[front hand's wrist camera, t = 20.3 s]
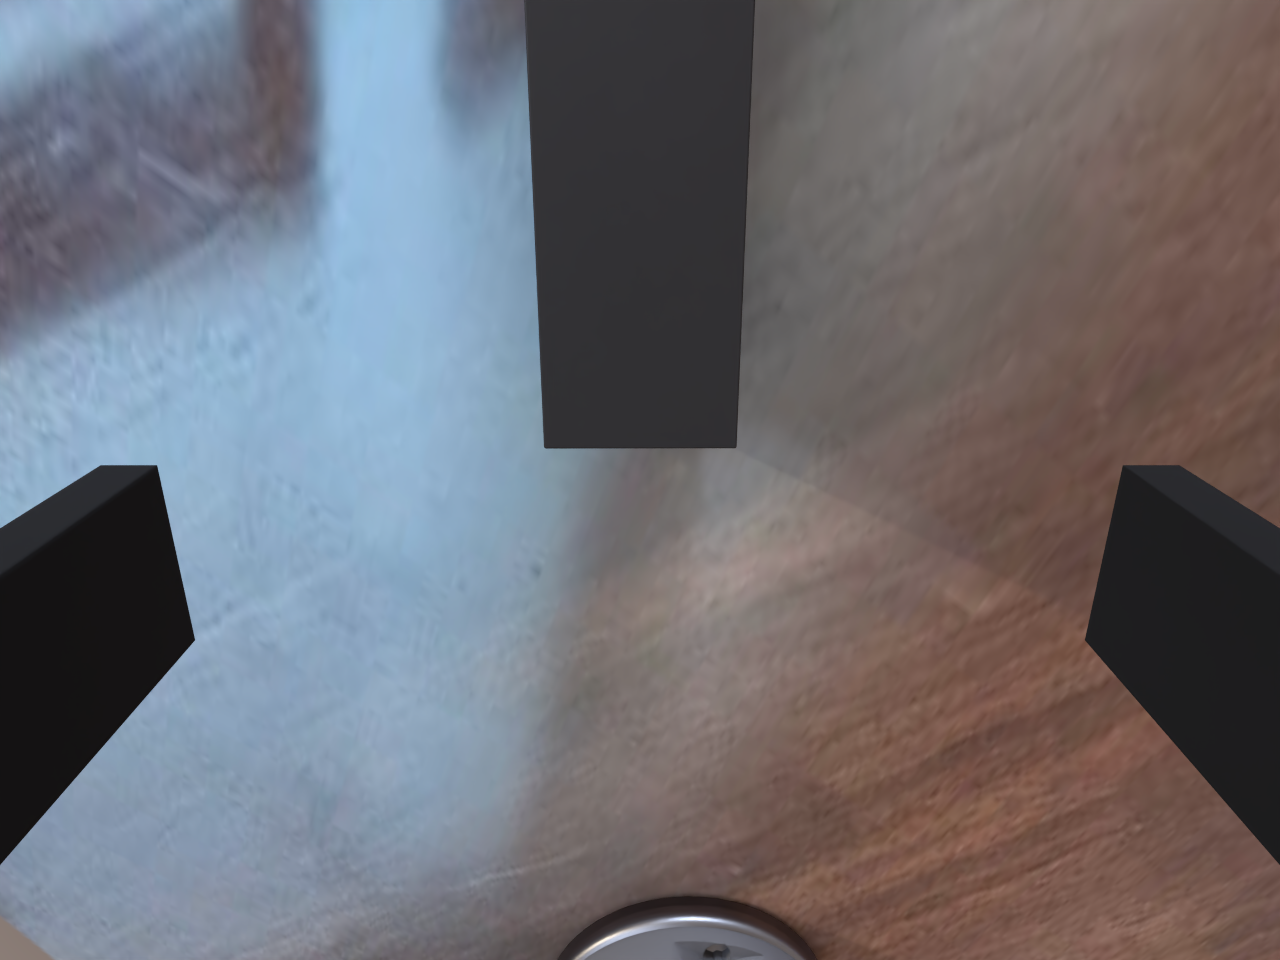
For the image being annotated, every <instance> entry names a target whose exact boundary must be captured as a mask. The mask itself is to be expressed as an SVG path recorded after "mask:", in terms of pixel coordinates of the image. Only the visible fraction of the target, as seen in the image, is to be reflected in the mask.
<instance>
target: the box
mask: <svg viewBox="0 0 1280 960" xmlns="http://www.w3.org/2000/svg"><path fill="white" fill-rule="evenodd" d="M524 4H525V26H526V49H527V71H528V94H529V117H530V139H531V162H532V184H533V207H534V229H535V252H536V275H537V297H538V320H539V342H540V365H541V387H542V410H543V432H544V447H545V448H736V444H737V420H738V396H739V372H740V348H741V324H742V300H743V276H744V252H745V228H746V204H747V180H748V156H749V132H750V108H751V84H752V60H753V36H754V12H755V0H524Z"/></svg>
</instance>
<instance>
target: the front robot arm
mask: <svg viewBox="0 0 1280 960" xmlns="http://www.w3.org/2000/svg"><path fill="white" fill-rule="evenodd" d="M194 641H195V638H194V633H193V628H192V624H191V619H190V615H189V610H188V605H187V601H186V596H185V592H184V587H183V582H182V578H181V573H180V569H179V564H178V559H177V555H176V550H175V546H174V541H173V536H172V532H171V527H170V523H169V518H168V513H167V509H166V504H165V500H164V495H163V490H162V486H161V481H160V477H159V472H158V467H157V465H101V466H99V467H97V468H96V469H94V470H93V471H91V472H89V473H88V474H86V475H85V476H83V477H81V478H80V479H78V480H77V481H75V482H73V483H72V484H70V485H69V486H67V487H65V488H64V489H62V490H61V491H59V492H58V493H56V494H54V495H53V496H51V497H50V498H48V499H46V500H45V501H43V502H42V503H40V504H38V505H37V506H35V507H34V508H32V509H30V510H29V511H27V512H26V513H24V514H22V515H21V516H19V517H18V518H16V519H14V520H13V521H11V522H10V523H8V524H7V525H5V526H3V527H2V528H0V864H1V863H2V862H3V861H4V860H5V859H6V858H7V856H8V855H9V854H10V853H11V852H12V851H13V849H14V848H15V847H16V846H17V845H18V844H19V843H20V841H21V840H22V839H23V838H24V837H25V836H26V834H27V833H28V832H29V831H30V830H31V829H32V828H33V826H34V825H35V824H36V823H37V822H38V821H39V819H40V818H41V817H42V816H43V815H44V814H45V813H46V811H47V810H48V809H49V808H50V807H51V806H52V804H53V803H54V802H55V801H56V800H57V799H58V798H59V796H60V795H61V794H62V793H63V792H64V791H65V789H66V788H67V787H68V786H69V785H70V784H71V783H72V781H73V780H74V779H75V778H76V777H77V776H78V775H79V773H80V772H81V771H82V770H83V769H84V768H85V766H86V765H87V764H88V763H89V762H90V761H91V760H92V758H93V757H94V756H95V755H96V754H97V753H98V751H99V750H100V749H101V748H102V747H103V746H104V745H105V743H106V742H107V741H108V740H109V739H110V738H111V736H112V735H113V734H114V733H115V732H116V731H117V730H118V728H119V727H120V726H121V725H122V724H123V723H124V721H125V720H126V719H127V718H128V717H129V716H130V715H131V713H132V712H133V711H134V710H135V709H136V708H137V706H138V705H139V704H140V703H141V702H142V701H143V700H144V698H145V697H146V696H147V695H148V694H149V693H150V691H151V690H152V689H153V688H154V687H155V686H156V685H157V683H158V682H159V681H160V680H161V679H162V678H163V677H164V675H165V674H166V673H167V672H168V671H169V670H170V668H171V667H172V666H173V665H174V664H175V663H176V662H177V660H178V659H179V658H180V657H181V656H182V655H183V653H184V652H185V651H186V650H187V649H188V648H189V647H190V645H191V644H192V643H193V642H194ZM1085 641H1086V642H1087V643H1088V644H1089V645H1090V647H1091V648H1092V649H1093V650H1094V651H1095V652H1096V653H1097V655H1098V656H1099V657H1100V658H1101V659H1102V660H1103V662H1104V663H1105V664H1106V665H1107V666H1108V667H1109V668H1110V670H1111V671H1112V672H1113V673H1114V674H1115V675H1116V677H1117V678H1118V679H1119V680H1120V681H1121V682H1122V683H1123V685H1124V686H1125V687H1126V688H1127V689H1128V690H1129V691H1130V693H1131V694H1132V695H1133V696H1134V697H1135V698H1136V700H1137V701H1138V702H1139V703H1140V704H1141V705H1142V706H1143V708H1144V709H1145V710H1146V711H1147V712H1148V713H1149V715H1150V716H1151V717H1152V718H1153V719H1154V720H1155V721H1156V723H1157V724H1158V725H1159V726H1160V727H1161V728H1162V730H1163V731H1164V732H1165V733H1166V734H1167V735H1168V736H1169V738H1170V739H1171V740H1172V741H1173V742H1174V743H1175V745H1176V746H1177V747H1178V748H1179V749H1180V750H1181V751H1182V753H1183V754H1184V755H1185V756H1186V757H1187V758H1188V760H1189V761H1190V762H1191V763H1192V764H1193V765H1194V766H1195V768H1196V769H1197V770H1198V771H1199V772H1200V773H1201V775H1202V776H1203V777H1204V778H1205V779H1206V780H1207V781H1208V783H1209V784H1210V785H1211V786H1212V787H1213V788H1214V789H1215V791H1216V792H1217V793H1218V794H1219V795H1220V796H1221V798H1222V799H1223V800H1224V801H1225V802H1226V803H1227V804H1228V806H1229V807H1230V808H1231V809H1232V810H1233V811H1234V813H1235V814H1236V815H1237V816H1238V817H1239V818H1240V819H1241V821H1242V822H1243V823H1244V824H1245V825H1246V826H1247V828H1248V829H1249V830H1250V831H1251V832H1252V833H1253V834H1254V836H1255V837H1256V838H1257V839H1258V840H1259V841H1260V843H1261V844H1262V845H1263V846H1264V847H1265V848H1266V849H1267V851H1268V852H1269V853H1270V854H1271V855H1272V856H1273V858H1274V859H1275V860H1276V861H1277V862H1278V863H1279V864H1280V528H1278V527H1277V526H1275V525H1273V524H1272V523H1270V522H1269V521H1267V520H1266V519H1264V518H1262V517H1261V516H1259V515H1258V514H1256V513H1254V512H1253V511H1251V510H1250V509H1248V508H1246V507H1245V506H1243V505H1242V504H1240V503H1238V502H1237V501H1235V500H1234V499H1232V498H1230V497H1229V496H1227V495H1226V494H1224V493H1222V492H1221V491H1219V490H1218V489H1216V488H1215V487H1213V486H1211V485H1210V484H1208V483H1207V482H1205V481H1203V480H1202V479H1200V478H1199V477H1197V476H1195V475H1194V474H1192V473H1191V472H1189V471H1187V470H1186V469H1184V468H1183V467H1181V466H1179V465H1123V467H1122V472H1121V477H1120V481H1119V486H1118V490H1117V495H1116V500H1115V504H1114V509H1113V513H1112V518H1111V523H1110V527H1109V532H1108V536H1107V541H1106V546H1105V550H1104V555H1103V559H1102V564H1101V569H1100V573H1099V578H1098V582H1097V587H1096V592H1095V596H1094V601H1093V605H1092V610H1091V615H1090V619H1089V624H1088V628H1087V633H1086V638H1085ZM558 960H817V959H816V957H815V955H814V953H813V952H812V951H811V949H810V948H809V946H808V945H807V944H806V943H805V942H804V941H803V940H802V938H801V937H800V936H799V935H797V934H796V933H795V932H794V931H793V930H792V929H791V928H789V927H788V926H786V925H785V924H784V923H782V922H781V921H779V920H777V919H775V918H774V917H772V916H770V915H768V914H766V913H764V912H762V911H760V910H757V909H754V908H752V907H749V906H746V905H743V904H739V903H736V902H732V901H727V900H721V899H715V898H706V897H672V898H663V899H657V900H651V901H646V902H642V903H639V904H635V905H631V906H629V907H626V908H623V909H620V910H618V911H616V912H613V913H611V914H609V915H607V916H605V917H603V918H601V919H600V920H598V921H596V922H595V923H593V924H592V925H590V926H589V927H587V928H586V929H585V930H583V931H582V932H581V933H580V934H579V935H577V936H576V937H575V938H574V939H573V940H572V941H571V942H570V943H569V944H568V946H567V947H566V948H565V950H564V951H563V952H562V953H561V955H560V957H559V958H558Z"/></svg>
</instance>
